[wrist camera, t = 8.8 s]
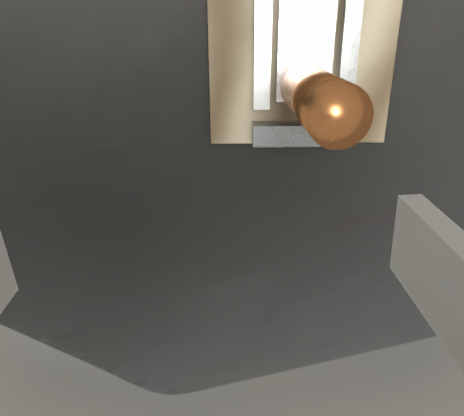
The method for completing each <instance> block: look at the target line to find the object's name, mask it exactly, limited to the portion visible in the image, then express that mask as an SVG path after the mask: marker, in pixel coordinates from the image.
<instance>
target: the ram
mask: <svg viewBox="0 0 464 416" xmlns="http://www.w3.org/2000/svg"><path fill="white" fill-rule="evenodd" d="M337 7H338V0H278V9H277V40H276V71H275V101H276V102H285V103H286V105H287V106H288V107H289V109H290V110H291V111H292V112H293V114H294V115H295V116H296V118H297V119H298V120H299V122H300V123H301V124H302V126H303V127H304V128H305V130H306V131H307V132H308V134H309V135H310V136H311V138H312V139H313V140H314V141H315V142H316V143H317V144H318V145H320V146H322V147H324V148H327V149H331V150H342V149H346V148H350V147H352V146H354V145H355V144H357V143H358V142H360V141H361V140H362V139H363V138H364V137H365V135H366V134H367V133H368V131H369V129H370V127H371V125H372V122H373V117H374V109H373V104H372V101H371V99H370V97H369V95H368V94H367V92H366V91H365V90H364V89H362V88H361V87H360V86H358V85H356V84H354V83H351V82H349V81H347V80H345V79H343V78H340V77H338V76H336V75H334V74H332V68H333V56H334V44H335V31H336V19H337Z"/></svg>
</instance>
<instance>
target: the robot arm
mask: <svg viewBox="0 0 464 416" xmlns="http://www.w3.org/2000/svg"><path fill="white" fill-rule="evenodd" d="M390 268H391V270H392V271H393V273H394V274H395V276H396V277H397V278H398V280H399V281H400V283H401V284H402V286H403V287H404V289H405V290H406V292H407V293H408V294H409V296H410V297H411V299H412V300H413V302H414V303H415V305H416V306H417V308H418V309H419V310H420V312H421V313H422V315H423V316H424V318H425V319H426V321H427V322H428V324H429V325H430V326H431V328H432V329H433V331H434V332H435V334H436V335H437V337H438V338H439V339H440V341H441V342H442V344H443V345H444V347H445V348H446V350H447V351H448V353H449V354H450V356H451V357H452V358H453V360H454V361H455V363H456V364H457V366H458V367H459V368H460V370H461V372H462V373H463V374H464V231H463V230H462V229H461V228H460V227H459V226H457V225H456V224H455V223H454V222H453V221H452V220H451V219H449V218H448V217H447V216H446V215H445V214H444V213H443V212H441V211H440V210H439V209H438V208H437V207H436V206H435V205H433V204H432V203H431V202H430V201H429V200H428V199H427V198H425V197H424V196H423V195H422V194H413V195H398V201H397V209H396V218H395V227H394V235H393V244H392V252H391V261H390ZM17 291H18V287H17V283H16V280H15V277H14V273H13V270H12V267H11V264H10V260H9V257H8V254H7V250H6V247H5V244H4V241H3V237H2V234H1V231H0V314H1V313H2V312H3V310H4V309H5V307H6V306H7V305H8V303H9V302H10V301H11V299H12V298H13V296H14V295H15V294H16V292H17Z"/></svg>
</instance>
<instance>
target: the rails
mask: <svg viewBox="0 0 464 416" xmlns="http://www.w3.org/2000/svg"><path fill="white" fill-rule="evenodd" d="M363 6H364V0H340V8H339V20H338V32H337V44H336V56H335V68H334V75H336V76H338V77H340V78H343V79H345V80H347V81H349V82H351V83H354V84H356V74H357V64H358V55H359V45H360V35H361V25H362V15H363ZM272 9H273V0H254V4H253V86H252V106H253V110H270V80H271V44H272ZM252 144H253V147H322V146H320V145H318V144H317V143H316V142H315V141H314V140H313V139H312V138H311V136H310V135H309V134H308V132H307V131H306V130H305V128H304V127H303V126H302V124H301V123H300V122H299V121H252Z"/></svg>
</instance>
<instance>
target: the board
mask: <svg viewBox="0 0 464 416" xmlns="http://www.w3.org/2000/svg"><path fill="white" fill-rule="evenodd" d="M402 2H403V0H364V6H363V15H362V25H361V35H360V45H359V55H358V64H357V74H356V85H358V86H360V87H361V88H362V89H364V90H365V91H366V92H367V94H368V95H369V97H370V99H371V101H372V104H373V109H374V117H373V122H372V125H371V127H370V129H369V131H368V133H367V134H366V135H365V137H364V138H363V139H362V140H361V141H360V142H384V137H385V129H386V122H387V114H388V107H389V99H390V92H391V85H392V77H393V70H394V62H395V55H396V47H397V40H398V32H399V25H400V17H401V10H402ZM253 4H254V0H207V6H208V46H209V85H210V125H211V144H226V143H252V121H299V120H298V119H297V118H296V116H295V115H294V114H293V112H292V111H291V110H290V109H289V107H288V106H287V105H286V103H285V102H276V101H275V71H276V40H277V9H278V0H273V9H272V44H271V80H270V110H253V106H252V86H253ZM339 8H340V0H338V7H337V19H336V31H335V44H334V56H333V68H332V74H334V68H335V56H336V44H337V32H338V20H339Z"/></svg>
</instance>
